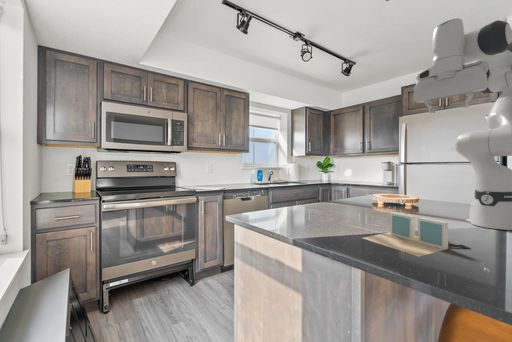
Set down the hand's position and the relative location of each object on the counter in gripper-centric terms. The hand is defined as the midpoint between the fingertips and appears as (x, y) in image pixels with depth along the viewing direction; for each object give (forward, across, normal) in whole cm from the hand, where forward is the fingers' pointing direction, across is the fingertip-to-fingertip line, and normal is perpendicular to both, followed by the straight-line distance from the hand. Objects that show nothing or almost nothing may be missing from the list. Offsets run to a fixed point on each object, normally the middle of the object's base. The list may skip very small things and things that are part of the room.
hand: (447, 110), depth 85 cm
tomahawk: (+44, +1, +4) cm, 44 cm away
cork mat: (+44, +6, +17) cm, 48 cm away
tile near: (+44, 0, +14) cm, 46 cm away
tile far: (+44, +10, +12) cm, 47 cm away
